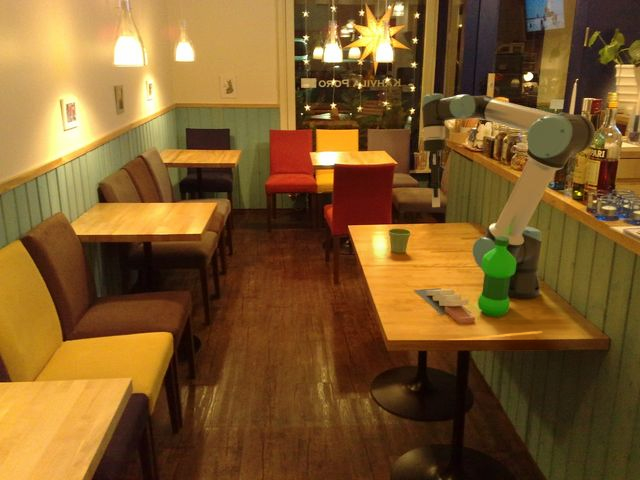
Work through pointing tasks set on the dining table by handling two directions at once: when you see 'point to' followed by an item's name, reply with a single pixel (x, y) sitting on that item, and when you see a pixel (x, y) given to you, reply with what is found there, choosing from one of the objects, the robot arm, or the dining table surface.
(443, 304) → the domino
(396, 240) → the plant pot
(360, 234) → the dining table surface
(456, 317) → the domino
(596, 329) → the dining table surface
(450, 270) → the dining table surface
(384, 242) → the dining table surface
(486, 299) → the plastic bottle
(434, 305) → the mat
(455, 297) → the domino
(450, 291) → the domino
